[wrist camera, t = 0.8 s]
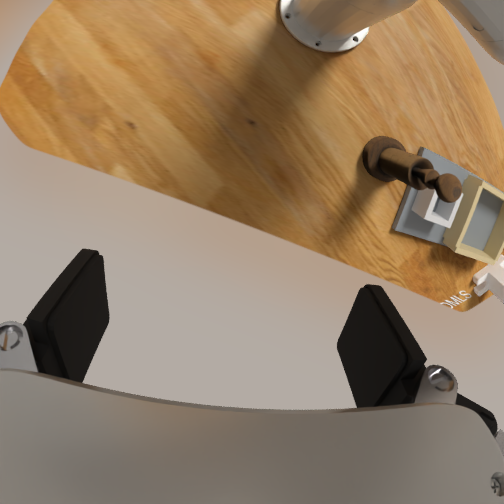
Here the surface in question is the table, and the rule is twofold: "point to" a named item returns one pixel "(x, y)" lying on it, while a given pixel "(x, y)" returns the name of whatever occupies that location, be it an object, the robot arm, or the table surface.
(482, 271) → the cable organizer
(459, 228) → the socket board
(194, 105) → the table surface
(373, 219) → the table surface
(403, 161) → the brown pepper mill
